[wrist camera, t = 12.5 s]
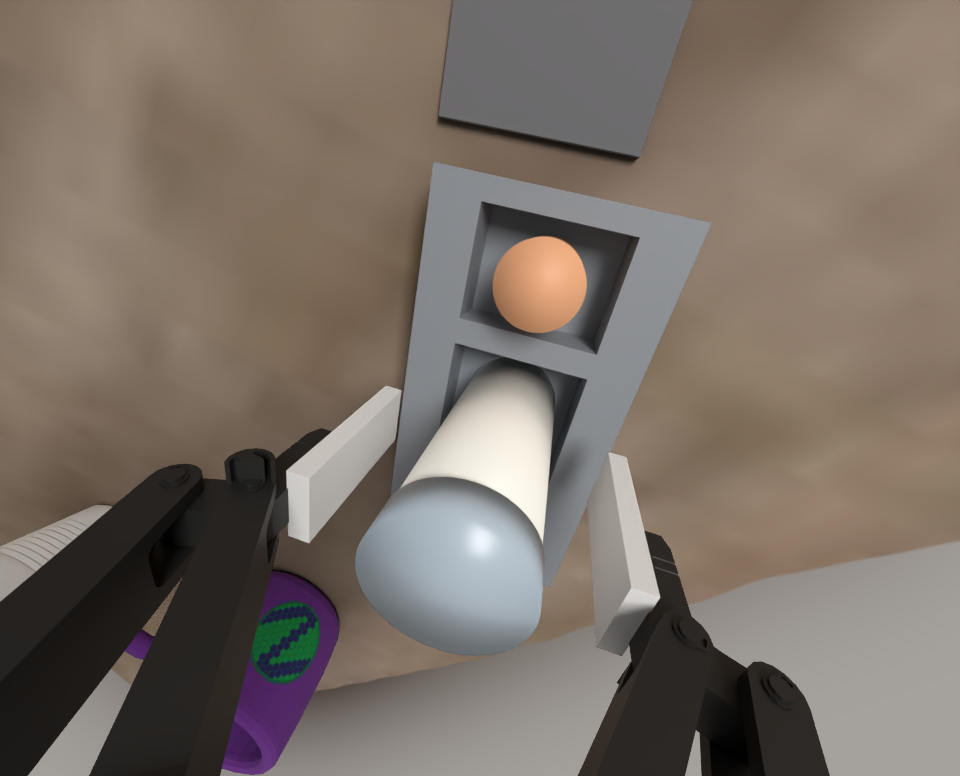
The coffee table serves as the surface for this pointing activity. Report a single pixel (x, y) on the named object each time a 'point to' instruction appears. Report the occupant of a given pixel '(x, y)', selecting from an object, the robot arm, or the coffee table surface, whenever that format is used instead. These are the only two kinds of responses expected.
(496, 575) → the cylinder
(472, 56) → the mat
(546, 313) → the orange oval ball
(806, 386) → the coffee table surface
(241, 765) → the mug
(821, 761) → the robot arm
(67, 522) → the cup
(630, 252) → the tray
